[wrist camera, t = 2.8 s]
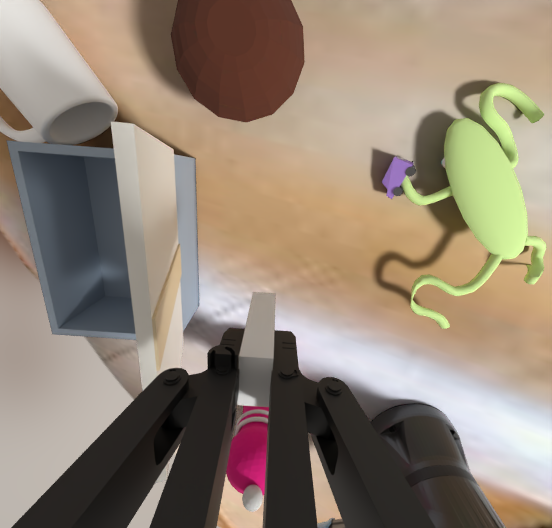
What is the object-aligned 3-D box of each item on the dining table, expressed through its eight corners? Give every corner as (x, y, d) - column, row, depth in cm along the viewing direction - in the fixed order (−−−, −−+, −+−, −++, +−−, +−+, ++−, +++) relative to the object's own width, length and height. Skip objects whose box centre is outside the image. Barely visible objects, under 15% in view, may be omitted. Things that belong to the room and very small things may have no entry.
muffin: (176, 87, 30) (128, 46, 20) (227, -17, 27) (199, -122, 17) (263, 152, 32) (256, 143, 22) (320, 63, 29) (340, 7, 19)
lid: (176, 345, 30) (185, 344, 30) (153, 483, 17) (169, 480, 17) (164, 148, 23) (175, 149, 23) (110, 121, 10) (138, 124, 10)
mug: (67, 19, 28) (-12, -39, 20) (132, 109, 30) (83, 87, 23) (-5, 91, 30) (-101, 62, 22) (61, 169, 33) (-5, 167, 25)
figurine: (401, 319, 39) (420, 342, 34) (362, 132, 31) (379, 123, 26) (532, 284, 37) (574, 302, 32) (527, 73, 29) (582, 50, 24)
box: (199, 305, 38) (176, 342, 30) (103, 298, 38) (52, 334, 30) (195, 158, 32) (164, 152, 23) (79, 149, 32) (6, 140, 23)
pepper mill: (277, 379, 43) (275, 544, 24) (235, 365, 42) (198, 523, 23) (294, 344, 40) (308, 494, 21) (250, 329, 40) (224, 470, 21)
